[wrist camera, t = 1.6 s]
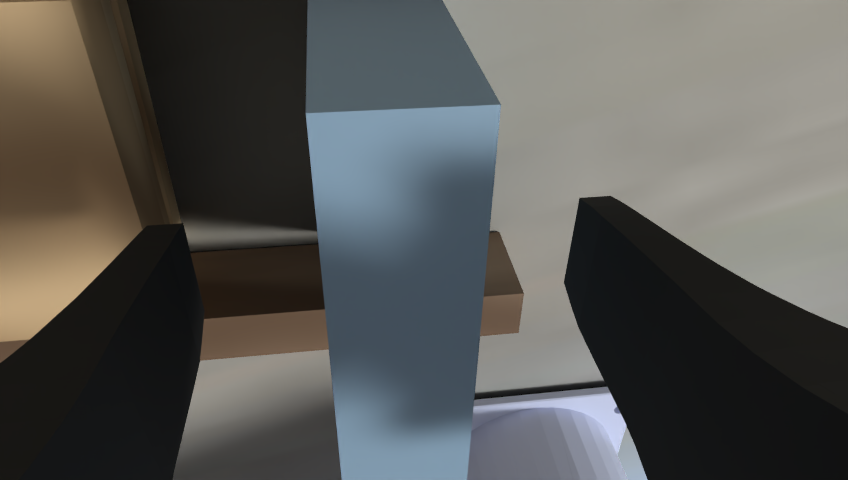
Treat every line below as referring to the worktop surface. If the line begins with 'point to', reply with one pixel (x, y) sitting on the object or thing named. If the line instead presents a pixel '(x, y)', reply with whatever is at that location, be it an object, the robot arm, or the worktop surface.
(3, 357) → the rack
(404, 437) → the panel
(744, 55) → the worktop surface
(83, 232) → the offcut top
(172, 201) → the offcut bottom
